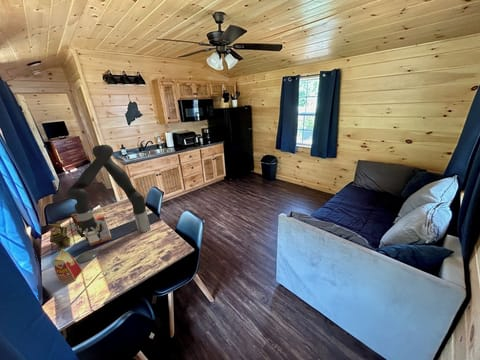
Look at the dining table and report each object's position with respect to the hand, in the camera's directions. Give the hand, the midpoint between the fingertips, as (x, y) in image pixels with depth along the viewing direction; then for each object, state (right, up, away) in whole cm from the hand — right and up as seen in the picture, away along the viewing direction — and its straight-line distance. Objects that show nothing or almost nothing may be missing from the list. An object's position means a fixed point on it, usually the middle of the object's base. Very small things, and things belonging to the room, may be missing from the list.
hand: (94, 239), depth 134 cm
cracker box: (-11, -8, +23) cm, 27 cm away
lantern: (-43, -1, +45) cm, 62 cm away
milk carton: (-8, -21, -9) cm, 24 cm away
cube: (0, 0, 0) cm, 0 cm away
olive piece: (-38, -11, +20) cm, 44 cm away
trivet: (-10, -14, +7) cm, 19 cm away
